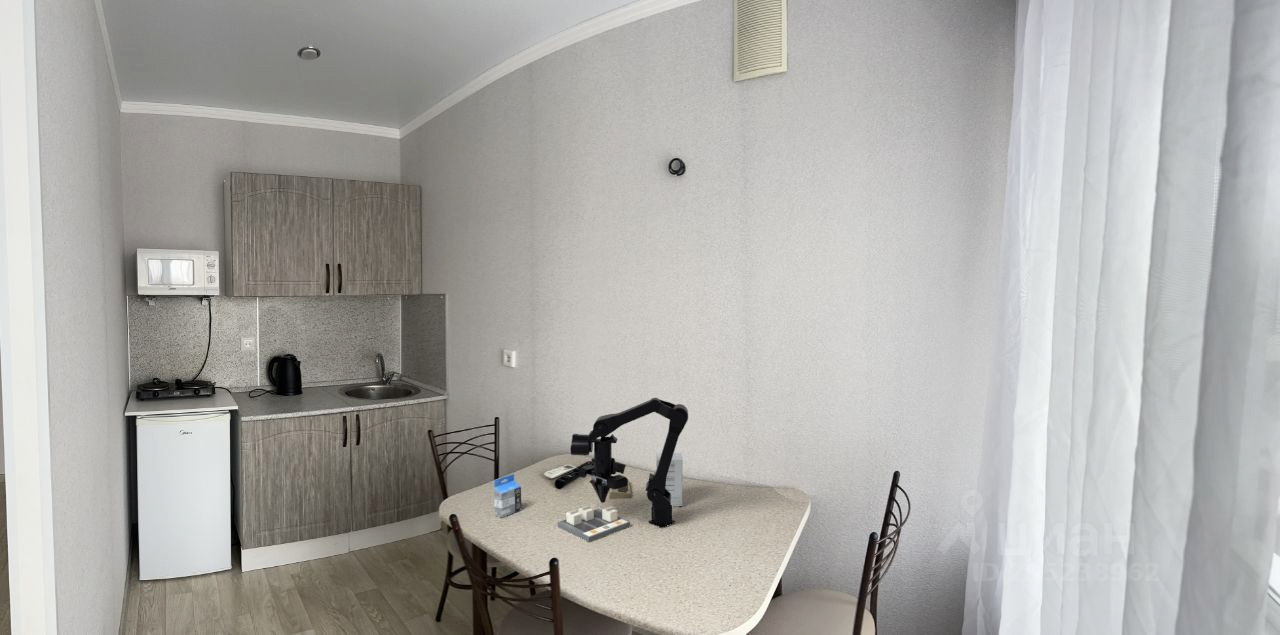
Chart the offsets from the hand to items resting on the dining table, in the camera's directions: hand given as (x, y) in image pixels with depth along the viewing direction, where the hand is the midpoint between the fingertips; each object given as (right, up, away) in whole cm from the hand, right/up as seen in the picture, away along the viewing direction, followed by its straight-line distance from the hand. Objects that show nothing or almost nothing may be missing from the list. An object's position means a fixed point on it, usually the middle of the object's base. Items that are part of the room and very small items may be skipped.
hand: (602, 502), depth 193 cm
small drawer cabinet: (+23, -6, +17) cm, 29 cm away
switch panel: (-3, -7, -4) cm, 8 cm away
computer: (+5, -6, +29) cm, 30 cm away
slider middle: (-5, -5, -1) cm, 7 cm away
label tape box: (-33, -6, +7) cm, 34 cm away
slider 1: (-9, -5, -5) cm, 11 cm away
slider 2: (+2, -5, -2) cm, 6 cm away
